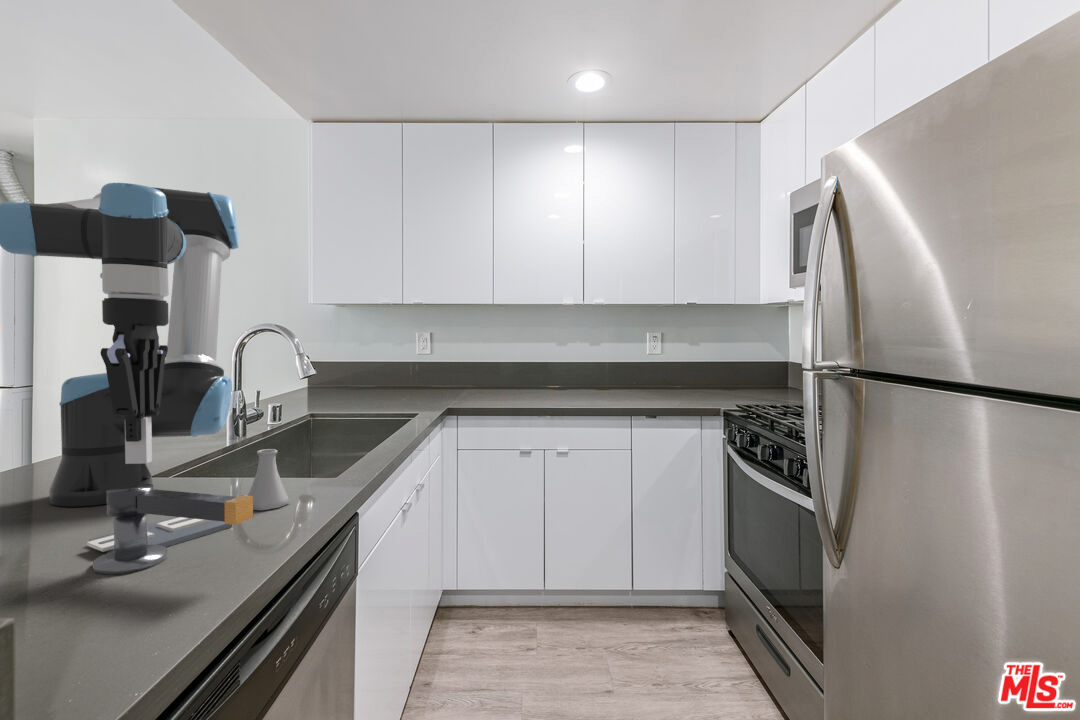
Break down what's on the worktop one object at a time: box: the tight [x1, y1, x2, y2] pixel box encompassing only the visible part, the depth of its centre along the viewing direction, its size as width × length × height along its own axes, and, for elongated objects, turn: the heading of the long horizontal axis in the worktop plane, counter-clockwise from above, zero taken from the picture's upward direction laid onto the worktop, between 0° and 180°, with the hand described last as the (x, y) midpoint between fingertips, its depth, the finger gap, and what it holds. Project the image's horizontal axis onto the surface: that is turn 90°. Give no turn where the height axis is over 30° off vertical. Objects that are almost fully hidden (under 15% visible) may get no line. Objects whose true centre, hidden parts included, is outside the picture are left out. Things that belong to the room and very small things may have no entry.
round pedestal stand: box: [92, 513, 168, 576], centre depth 73 cm, size 8×8×6 cm
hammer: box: [106, 483, 254, 526], centre depth 71 cm, size 20×5×3 cm, turn 78°
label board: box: [86, 516, 233, 553], centre depth 82 cm, size 10×16×1 cm, turn 152°
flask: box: [247, 448, 291, 511], centre depth 98 cm, size 7×7×10 cm
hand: (138, 462), depth 78 cm, fingers closed
